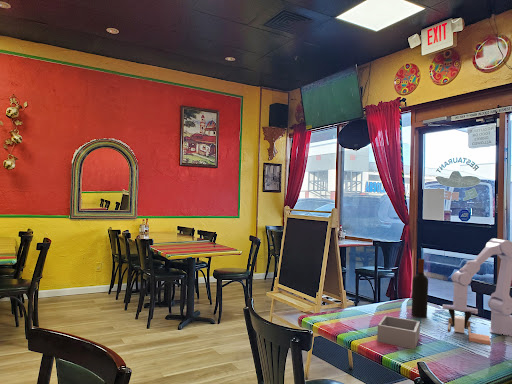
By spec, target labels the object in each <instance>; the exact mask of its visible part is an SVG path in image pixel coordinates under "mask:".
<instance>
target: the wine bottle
mask: <svg viewBox="0 0 512 384" xmlns="http://www.w3.org/2000/svg"><path fill="white" fill-rule="evenodd" d="M417 261H418V265H417V274H416V275H414V276H413V277H412V293H411V294H412V297H411V316H412V315H413V316H412V317H415V318H420V319H426V318H427V317H428V300H429V299H428V296H429V278H428V277H427V276H426V275H425V273H424V272H425V270H424V269H425V259H424V258H418V260H417Z"/></svg>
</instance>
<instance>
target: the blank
mask: <svg viewBox="0 0 512 384" xmlns="http://www.w3.org/2000/svg"><path fill="white" fill-rule="evenodd" d="M454 322H455V326H453V330H454V332H456V333H462V334H465V328H464V323H465V316H461V315H456V314H455V318H454Z"/></svg>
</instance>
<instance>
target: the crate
mask: <svg viewBox="0 0 512 384" xmlns="http://www.w3.org/2000/svg"><path fill="white" fill-rule="evenodd" d="M420 329H421V321H419V320H413V319H407V318H402V317H395V316H390V315H384V316H383V317H382V318H381V320H380V322H379V323H378V324H377V331H376V332H377V334H376V335H377V337H376V338H377V339H376V342H377V343H381V344H388V345H392V346H397V347H402V348H407V349H412V350H416V348H417V345H418V343H419V339H420Z"/></svg>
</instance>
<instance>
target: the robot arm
mask: <svg viewBox="0 0 512 384" xmlns="http://www.w3.org/2000/svg"><path fill="white" fill-rule="evenodd" d="M494 255H497V257H498V258H500V265H499V270H498V276H497V281H496V288H495V291H494V292H492V293H491V294H490V298H489V299H488V300H487V306H488V308H489V309H490V312H491V314H490V315H491V316H490V327H488V328H489V332H490V333H493V334H497V335H502V334H503V335H504V336H508V335H509V337H512V315H511V314H512V297H511V296H510V291H511V287H512V241H511V240H509V239H508V240H507V239H500V238H496V237H495V238H491V239H490V240H488V242H486V244H485V247H484V248H483V249H482V250H481V252H480V253H479V254H477V256H476V257H475V258H474V260H467V261H466V262H465V264H464V265H463V267H461V268H459V270H458V271H455V272H453V274H452V276H450V279H451V281H452V282H453V301H452V304H442V310H448V313H449V315H450V318H451V319H452V323H453V325H452V327H454V326H455V322H454V319H455V315H456V312H461V313H462V312H463V313H464V319H465V323H464V329H467V327H466V325H467V322H468V321H470V318H471V317H472V314H475V315H478V313H479V310H478V308H473V307H469V306H468V290H469V289H468V288H469V287H468V286H469V285H470V284H471V282H472V278H473V277H474V276H475V275H476V274H477V273H478V272H479V271H480V270H481V265H482V264H484V263H485V262H486V261H487V260H488V259H490V257H492V256H494ZM503 335H502V336H503Z"/></svg>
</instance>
